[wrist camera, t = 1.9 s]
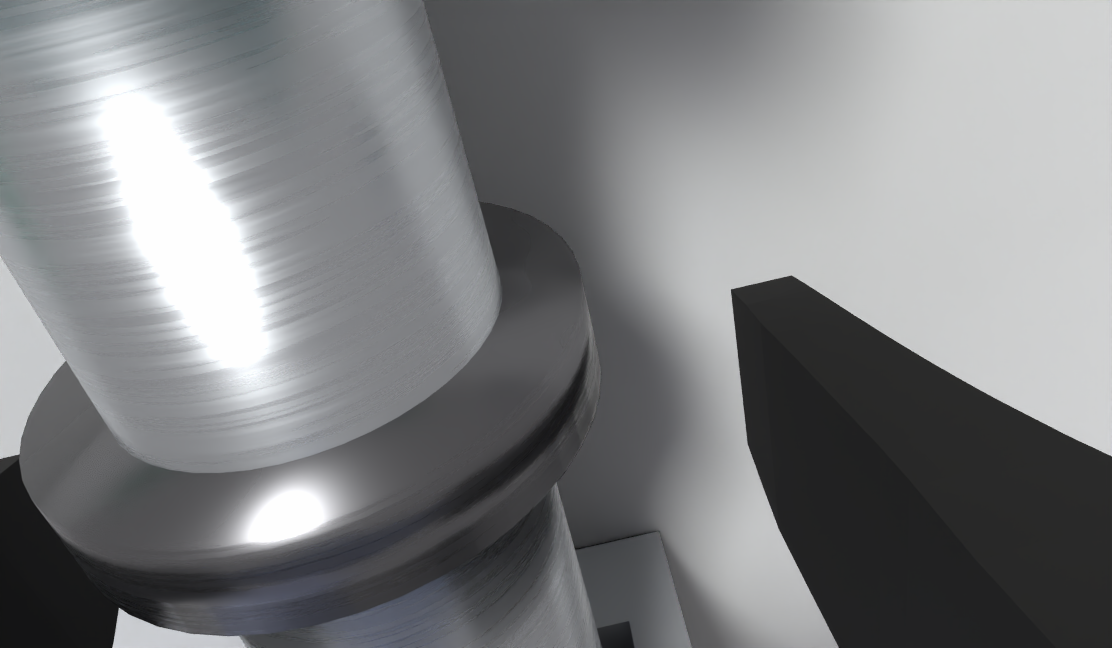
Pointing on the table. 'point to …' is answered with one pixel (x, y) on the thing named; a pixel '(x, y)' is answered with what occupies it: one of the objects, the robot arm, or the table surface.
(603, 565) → the sleeve
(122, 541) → the silver cylinder
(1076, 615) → the robot arm
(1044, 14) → the table surface
